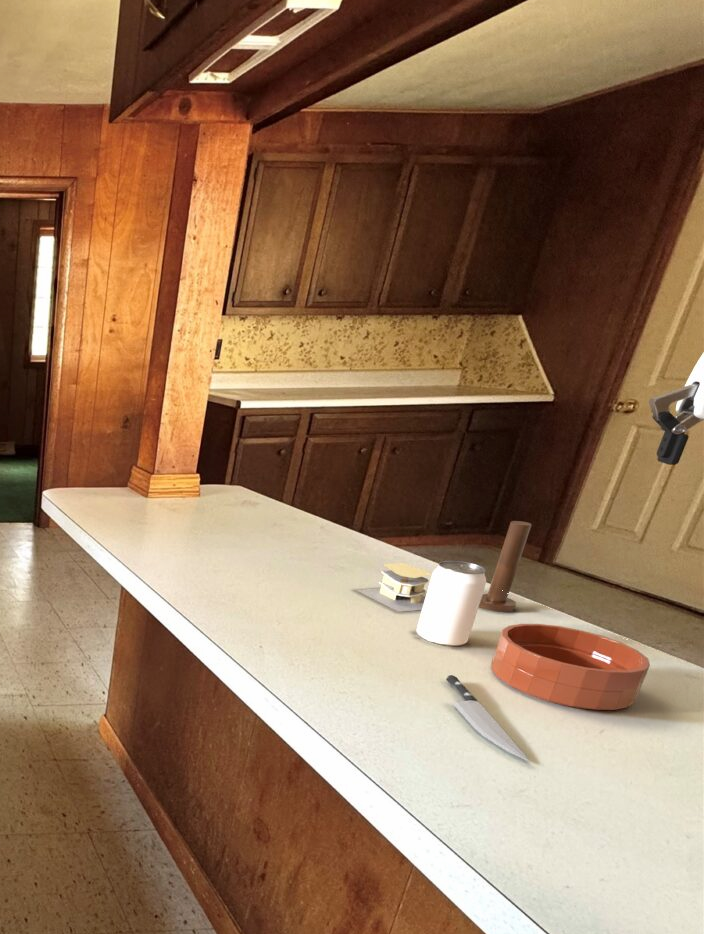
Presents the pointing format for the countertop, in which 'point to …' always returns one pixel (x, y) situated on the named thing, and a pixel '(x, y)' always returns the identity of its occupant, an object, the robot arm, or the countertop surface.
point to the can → (451, 603)
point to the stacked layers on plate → (400, 588)
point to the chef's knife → (483, 719)
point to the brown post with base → (506, 569)
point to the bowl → (569, 666)
